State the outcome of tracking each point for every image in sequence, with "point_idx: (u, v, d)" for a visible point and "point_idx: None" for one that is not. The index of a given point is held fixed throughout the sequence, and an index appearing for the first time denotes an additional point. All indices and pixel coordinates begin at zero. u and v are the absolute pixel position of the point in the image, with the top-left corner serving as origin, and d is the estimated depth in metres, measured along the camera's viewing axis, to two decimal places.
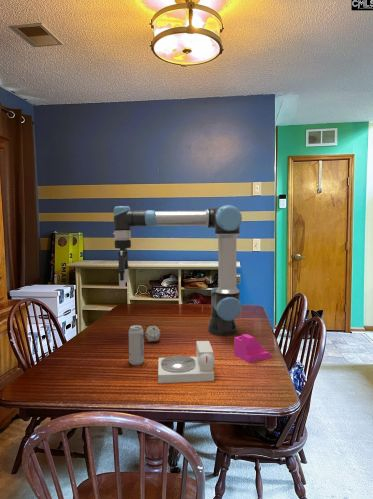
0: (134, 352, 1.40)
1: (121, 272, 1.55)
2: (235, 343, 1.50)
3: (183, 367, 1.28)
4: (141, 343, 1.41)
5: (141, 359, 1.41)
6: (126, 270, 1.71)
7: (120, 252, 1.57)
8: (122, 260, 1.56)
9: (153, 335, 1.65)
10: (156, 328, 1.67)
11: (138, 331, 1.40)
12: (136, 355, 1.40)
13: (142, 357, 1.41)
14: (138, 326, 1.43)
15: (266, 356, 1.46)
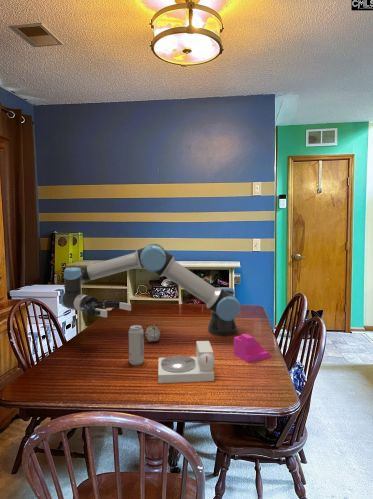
0: (134, 352, 1.40)
1: (90, 312, 1.44)
2: (234, 343, 1.51)
3: (183, 367, 1.28)
4: (141, 343, 1.41)
5: (141, 359, 1.41)
6: (120, 304, 1.56)
7: (81, 309, 1.51)
8: (84, 309, 1.48)
9: (153, 335, 1.65)
10: (156, 328, 1.67)
11: (138, 331, 1.40)
12: (136, 355, 1.40)
13: (142, 357, 1.41)
14: (138, 326, 1.43)
15: (266, 356, 1.46)
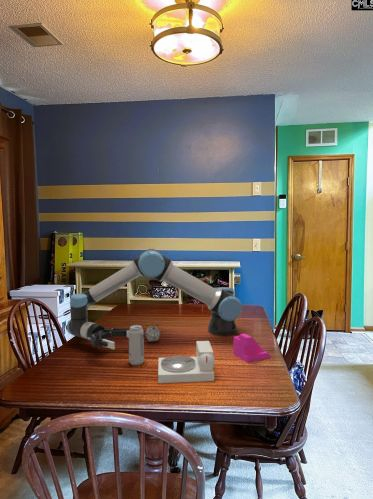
0: (134, 352, 1.40)
1: (97, 343, 1.42)
2: (234, 343, 1.51)
3: (183, 367, 1.28)
4: (141, 343, 1.41)
5: (141, 359, 1.41)
6: (127, 332, 1.54)
7: (88, 339, 1.49)
8: (91, 339, 1.46)
9: (153, 335, 1.65)
10: (156, 328, 1.67)
11: (138, 331, 1.40)
12: (136, 355, 1.40)
13: (142, 357, 1.41)
14: (138, 326, 1.43)
15: (265, 356, 1.46)
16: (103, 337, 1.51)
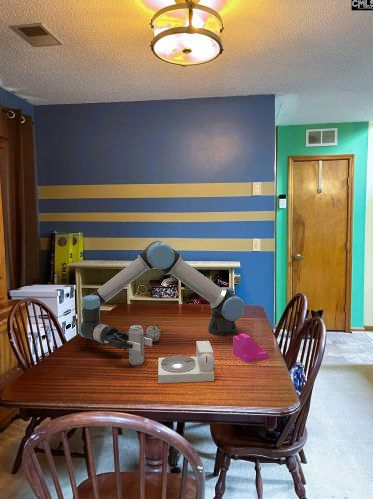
0: (134, 352, 1.40)
1: (122, 345, 1.39)
2: (233, 343, 1.52)
3: (183, 367, 1.28)
4: (141, 343, 1.41)
5: (141, 359, 1.41)
6: None
7: (105, 342, 1.44)
8: (111, 342, 1.42)
9: (153, 335, 1.65)
10: (156, 328, 1.67)
11: (138, 331, 1.40)
12: (136, 355, 1.40)
13: (142, 357, 1.41)
14: (138, 326, 1.43)
15: (264, 356, 1.46)
16: None
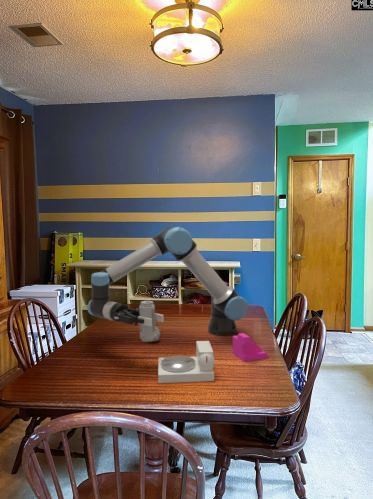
0: (146, 328, 1.35)
1: (133, 320, 1.34)
2: (233, 342, 1.52)
3: (183, 367, 1.28)
4: (152, 319, 1.35)
5: (152, 335, 1.36)
6: None
7: (115, 318, 1.39)
8: (122, 317, 1.37)
9: None
10: (156, 328, 1.67)
11: (149, 306, 1.34)
12: (148, 331, 1.35)
13: (153, 333, 1.36)
14: (149, 301, 1.38)
15: (263, 356, 1.46)
16: None
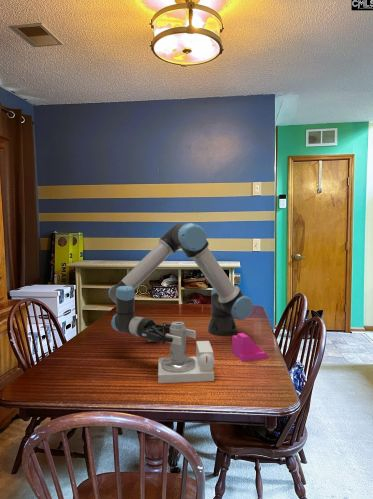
0: (177, 351, 1.30)
1: (161, 339, 1.28)
2: (232, 342, 1.52)
3: (183, 367, 1.28)
4: (184, 341, 1.30)
5: (184, 358, 1.31)
6: None
7: (143, 335, 1.33)
8: (149, 335, 1.31)
9: None
10: None
11: (181, 328, 1.29)
12: (179, 354, 1.30)
13: (184, 356, 1.31)
14: (180, 322, 1.33)
15: (262, 356, 1.46)
16: None
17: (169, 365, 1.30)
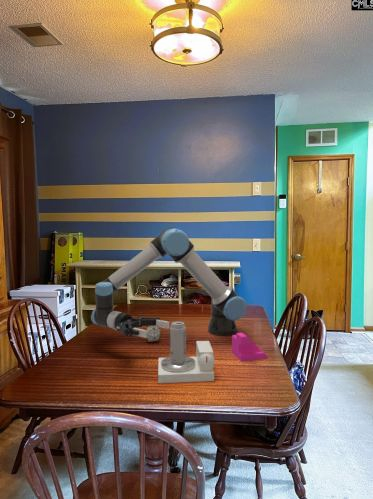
0: (177, 351, 1.30)
1: (128, 332, 1.35)
2: (232, 341, 1.53)
3: (183, 367, 1.28)
4: (184, 341, 1.30)
5: (184, 358, 1.31)
6: (157, 321, 1.47)
7: (117, 328, 1.42)
8: (121, 328, 1.39)
9: (153, 335, 1.65)
10: (156, 328, 1.67)
11: (181, 328, 1.29)
12: (179, 354, 1.30)
13: (184, 356, 1.31)
14: (180, 322, 1.33)
15: (261, 356, 1.46)
16: (132, 326, 1.44)
17: (169, 365, 1.30)
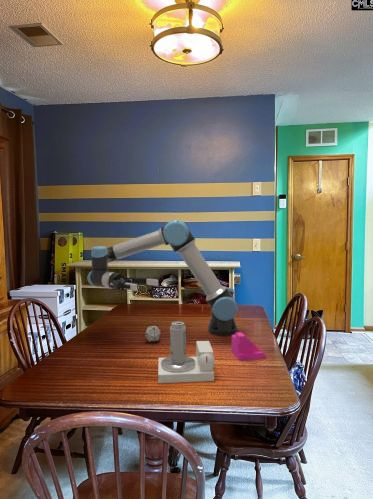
0: (177, 351, 1.30)
1: (120, 286, 1.49)
2: (232, 341, 1.54)
3: (183, 367, 1.28)
4: (184, 341, 1.30)
5: (184, 358, 1.31)
6: (147, 280, 1.60)
7: (110, 284, 1.56)
8: (114, 283, 1.53)
9: (153, 335, 1.65)
10: (156, 328, 1.67)
11: (181, 328, 1.29)
12: (179, 354, 1.30)
13: (184, 356, 1.31)
14: (180, 322, 1.33)
15: (260, 356, 1.46)
16: (124, 283, 1.58)
17: (169, 365, 1.30)
